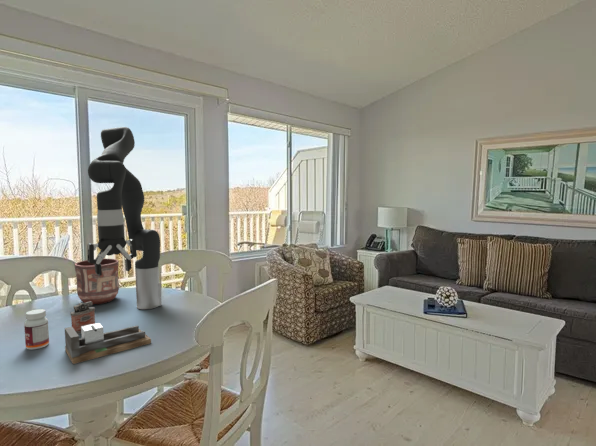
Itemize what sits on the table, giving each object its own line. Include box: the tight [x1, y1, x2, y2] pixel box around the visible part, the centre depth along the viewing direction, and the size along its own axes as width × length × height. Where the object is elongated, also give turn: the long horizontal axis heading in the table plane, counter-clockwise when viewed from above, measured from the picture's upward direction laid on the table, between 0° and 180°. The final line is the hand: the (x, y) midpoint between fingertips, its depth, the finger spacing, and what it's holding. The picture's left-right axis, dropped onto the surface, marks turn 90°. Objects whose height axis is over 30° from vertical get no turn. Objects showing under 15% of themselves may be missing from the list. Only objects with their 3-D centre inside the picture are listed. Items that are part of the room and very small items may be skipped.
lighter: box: [69, 301, 96, 335], centre depth 130 cm, size 8×3×10 cm, turn 148°
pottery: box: [74, 258, 120, 306], centre depth 165 cm, size 18×18×18 cm
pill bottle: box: [23, 308, 50, 350], centre depth 117 cm, size 6×6×11 cm
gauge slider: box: [80, 322, 104, 346], centre depth 112 cm, size 5×7×6 cm
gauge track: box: [64, 325, 152, 365], centre depth 116 cm, size 22×12×8 cm, turn 131°
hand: (113, 273), depth 119 cm, fingers open, 8 cm apart
